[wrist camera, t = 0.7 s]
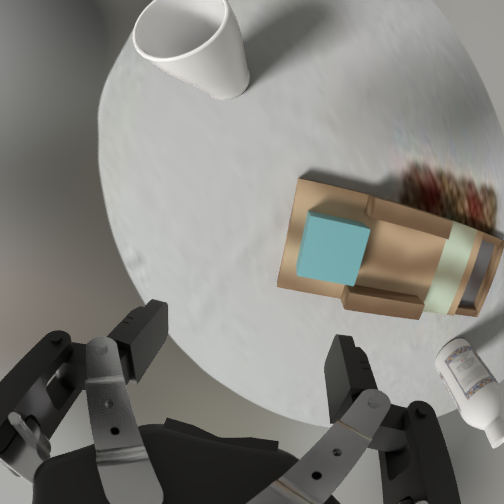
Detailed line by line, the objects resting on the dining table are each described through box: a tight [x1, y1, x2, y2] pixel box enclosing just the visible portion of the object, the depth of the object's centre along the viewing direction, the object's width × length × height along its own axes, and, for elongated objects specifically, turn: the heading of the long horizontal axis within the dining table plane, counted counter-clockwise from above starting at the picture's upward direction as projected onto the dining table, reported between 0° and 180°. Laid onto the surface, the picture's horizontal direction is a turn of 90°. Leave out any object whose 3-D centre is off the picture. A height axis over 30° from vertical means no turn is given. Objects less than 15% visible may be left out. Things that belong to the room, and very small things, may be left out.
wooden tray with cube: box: [277, 178, 504, 320], centre depth 27 cm, size 12×32×4 cm, turn 81°
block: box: [296, 211, 370, 286], centre depth 26 cm, size 6×6×3 cm
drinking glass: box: [133, 0, 250, 100], centre depth 18 cm, size 7×7×15 cm
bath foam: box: [435, 338, 504, 448], centre depth 23 cm, size 7×7×20 cm
